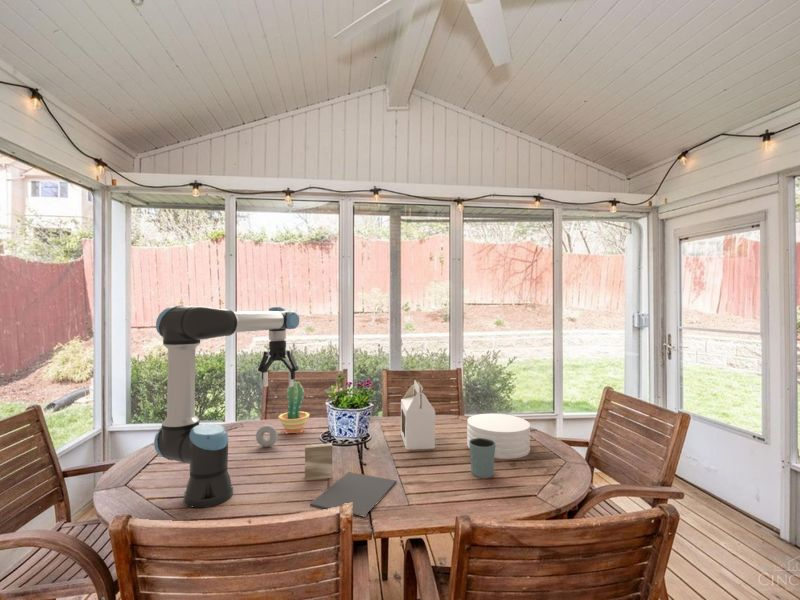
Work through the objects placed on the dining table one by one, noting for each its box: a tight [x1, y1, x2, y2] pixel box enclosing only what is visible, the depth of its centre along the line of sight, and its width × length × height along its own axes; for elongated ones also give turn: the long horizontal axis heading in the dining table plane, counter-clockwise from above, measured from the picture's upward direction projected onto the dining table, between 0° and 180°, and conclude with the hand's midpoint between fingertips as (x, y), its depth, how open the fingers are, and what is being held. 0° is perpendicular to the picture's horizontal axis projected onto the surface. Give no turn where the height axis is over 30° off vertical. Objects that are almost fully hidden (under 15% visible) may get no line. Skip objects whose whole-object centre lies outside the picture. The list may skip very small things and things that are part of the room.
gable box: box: [400, 379, 436, 451], centre depth 191 cm, size 22×13×28 cm, turn 6°
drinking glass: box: [469, 438, 496, 479], centre depth 156 cm, size 10×10×12 cm
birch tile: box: [304, 442, 333, 481], centre depth 152 cm, size 3×10×12 cm, turn 104°
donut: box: [255, 424, 279, 448], centre depth 183 cm, size 10×4×10 cm, turn 89°
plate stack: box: [466, 413, 531, 460], centre depth 184 cm, size 28×28×12 cm
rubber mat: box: [309, 471, 397, 516], centre depth 139 cm, size 26×20×1 cm
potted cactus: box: [278, 380, 310, 434], centre depth 205 cm, size 15×15×25 cm
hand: (278, 386), depth 184 cm, fingers open, 13 cm apart
